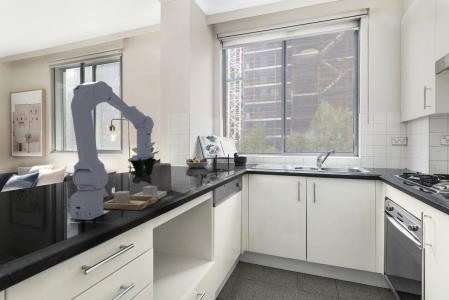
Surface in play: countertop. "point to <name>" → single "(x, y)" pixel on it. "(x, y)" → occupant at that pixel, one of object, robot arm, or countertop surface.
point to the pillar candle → (161, 176)
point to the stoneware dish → (159, 194)
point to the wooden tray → (132, 203)
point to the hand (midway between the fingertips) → (144, 176)
